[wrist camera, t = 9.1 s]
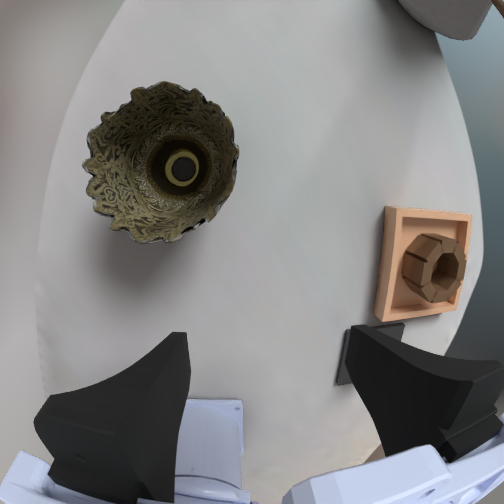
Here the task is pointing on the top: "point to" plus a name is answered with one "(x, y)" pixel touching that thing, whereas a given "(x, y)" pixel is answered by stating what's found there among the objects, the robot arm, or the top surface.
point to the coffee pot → (452, 15)
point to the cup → (161, 163)
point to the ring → (421, 264)
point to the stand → (343, 376)
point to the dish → (394, 246)
